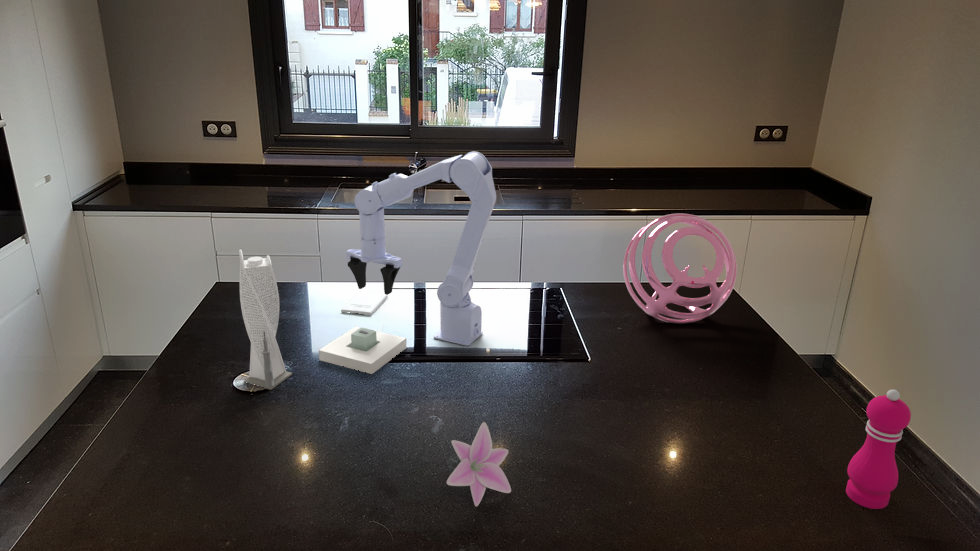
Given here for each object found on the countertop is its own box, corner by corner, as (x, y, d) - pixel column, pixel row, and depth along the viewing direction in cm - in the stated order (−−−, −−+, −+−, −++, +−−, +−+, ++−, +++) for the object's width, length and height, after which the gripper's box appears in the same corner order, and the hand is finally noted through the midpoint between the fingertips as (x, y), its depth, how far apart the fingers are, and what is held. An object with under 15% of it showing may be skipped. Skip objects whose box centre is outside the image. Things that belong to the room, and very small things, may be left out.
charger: (377, 350, 158) (376, 330, 156) (366, 358, 154) (365, 337, 152) (362, 347, 159) (361, 326, 157) (352, 354, 156) (351, 333, 154)
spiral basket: (627, 219, 193) (652, 184, 167) (723, 248, 192) (765, 218, 166) (601, 313, 187) (624, 293, 160) (701, 343, 186) (741, 328, 159)
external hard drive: (387, 299, 188) (371, 317, 176) (359, 296, 189) (341, 314, 178) (387, 294, 187) (370, 311, 176) (359, 291, 189) (340, 308, 177)
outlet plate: (406, 347, 160) (406, 338, 159) (371, 374, 148) (371, 363, 147) (356, 335, 165) (356, 326, 164) (319, 360, 153) (318, 350, 152)
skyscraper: (238, 381, 144) (222, 254, 134) (263, 364, 151) (250, 243, 141) (271, 389, 141) (257, 261, 131) (295, 372, 148) (284, 248, 138)
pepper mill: (833, 483, 116) (858, 379, 109) (874, 481, 117) (901, 377, 109) (858, 512, 109) (886, 403, 102) (901, 510, 110) (932, 401, 103)
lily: (434, 513, 109) (456, 482, 103) (429, 448, 117) (449, 416, 111) (502, 519, 113) (527, 490, 107) (493, 456, 121) (516, 426, 116)
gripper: (337, 237, 162) (340, 290, 167) (389, 246, 156) (391, 301, 161) (355, 229, 168) (357, 281, 173) (405, 238, 162) (407, 291, 167)
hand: (375, 290), depth 167 cm, fingers open, 7 cm apart
